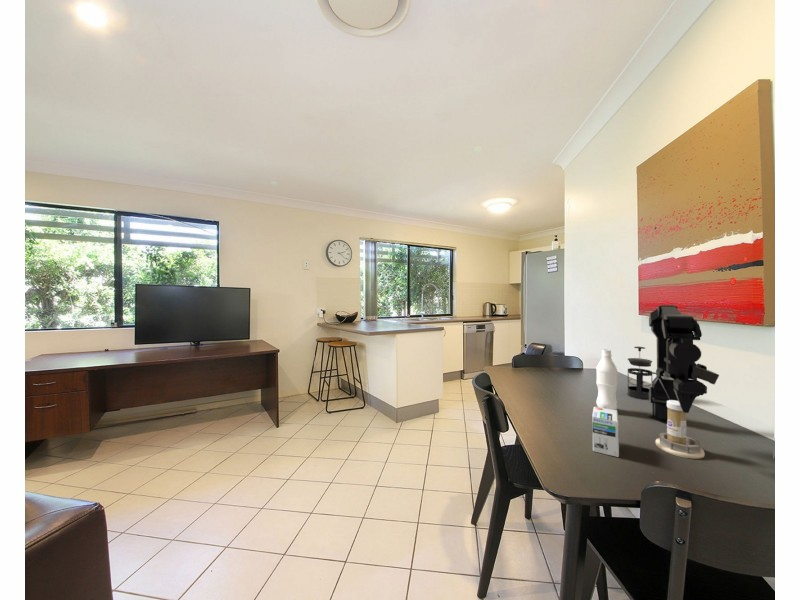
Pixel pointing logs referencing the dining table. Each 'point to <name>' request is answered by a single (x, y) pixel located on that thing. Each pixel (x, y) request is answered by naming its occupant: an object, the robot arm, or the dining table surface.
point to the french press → (639, 377)
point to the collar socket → (681, 447)
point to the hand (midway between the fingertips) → (679, 407)
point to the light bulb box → (605, 431)
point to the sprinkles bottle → (676, 423)
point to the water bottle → (606, 381)
